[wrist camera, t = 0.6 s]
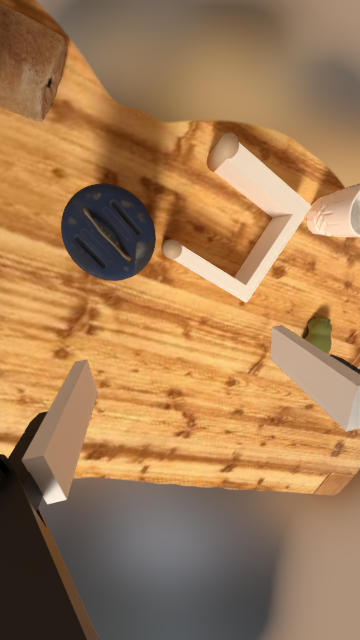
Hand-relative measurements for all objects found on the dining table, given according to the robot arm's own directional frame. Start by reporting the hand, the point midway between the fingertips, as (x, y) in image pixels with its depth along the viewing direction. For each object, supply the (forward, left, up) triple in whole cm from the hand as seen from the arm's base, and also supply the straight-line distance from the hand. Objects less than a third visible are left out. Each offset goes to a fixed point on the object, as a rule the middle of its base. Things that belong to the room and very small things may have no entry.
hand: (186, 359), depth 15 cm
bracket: (+4, +14, -28) cm, 31 cm away
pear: (+36, +6, -28) cm, 46 cm away
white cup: (+20, +26, -28) cm, 43 cm away
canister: (-10, +4, -28) cm, 30 cm away
